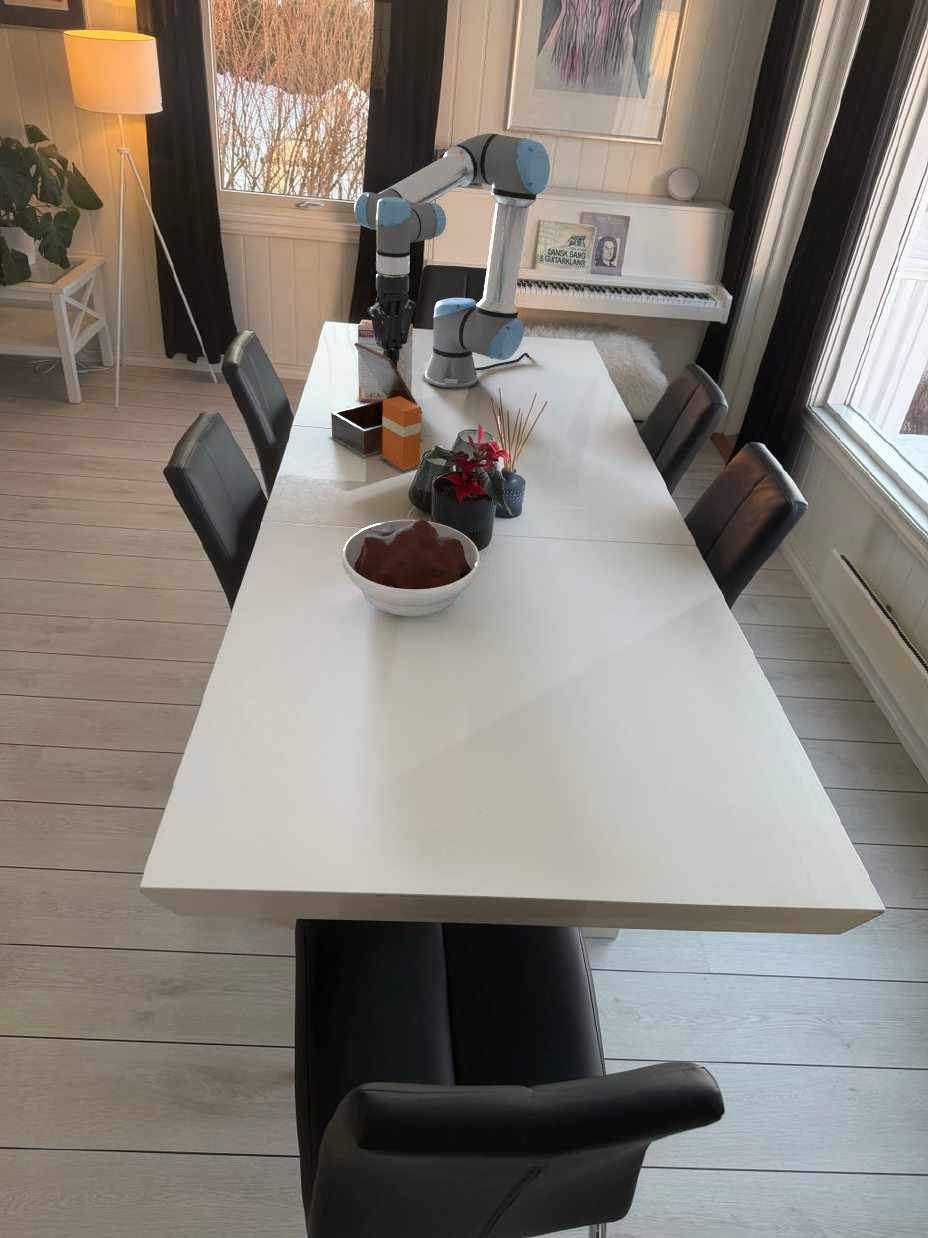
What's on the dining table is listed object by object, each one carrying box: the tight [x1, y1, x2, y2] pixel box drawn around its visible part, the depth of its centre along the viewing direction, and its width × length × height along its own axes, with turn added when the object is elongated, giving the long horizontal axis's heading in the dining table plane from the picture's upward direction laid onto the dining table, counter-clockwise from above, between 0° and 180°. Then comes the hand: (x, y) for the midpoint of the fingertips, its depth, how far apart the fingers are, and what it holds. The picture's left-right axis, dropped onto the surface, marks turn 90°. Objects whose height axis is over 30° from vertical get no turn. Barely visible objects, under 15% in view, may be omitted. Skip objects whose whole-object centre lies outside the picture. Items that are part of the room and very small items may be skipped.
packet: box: [381, 396, 422, 470], centre depth 200 cm, size 5×8×15 cm, turn 42°
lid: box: [353, 341, 423, 415], centre depth 208 cm, size 18×14×1 cm
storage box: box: [330, 399, 422, 456], centre depth 213 cm, size 18×14×7 cm
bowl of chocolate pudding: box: [341, 518, 482, 617], centre depth 154 cm, size 25×25×15 cm
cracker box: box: [357, 319, 414, 403], centre depth 230 cm, size 14×6×21 cm, turn 84°
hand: (391, 374), depth 208 cm, fingers closed
